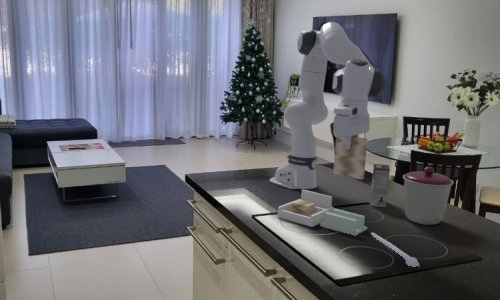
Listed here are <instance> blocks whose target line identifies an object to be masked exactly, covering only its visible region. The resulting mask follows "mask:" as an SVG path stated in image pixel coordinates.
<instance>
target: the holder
mask: <svg viewBox="0 0 500 300" xmlns="http://www.w3.org/2000/svg"><path fill="white" fill-rule="evenodd" d="M365 220H366V215H363V214H358V213H354V212H351V211H347V210H343V209H339V208H334V209H332V213H330V212H326V213H324V222H322V223H320V224H319V226H320V227H322V228H325V229H329V230H332V231H335V232H339V231H340V233H342V232H343V234H346V233H347V235H349V234H351V235H350V236H353V235H354V237H356V235H357V236H359V235H360V234H362V233H364V232H366V231H367V230H368V226H365ZM365 230H366V231H365ZM363 231H364V232H363ZM361 232H362V233H361ZM359 233H360V234H359ZM358 234H359V235H358Z"/></svg>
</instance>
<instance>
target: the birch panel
mask: <svg viewBox="0 0 500 300" xmlns="http://www.w3.org/2000/svg"><path fill="white" fill-rule="evenodd" d="M351 143H352V148H350V149H347V148H345V144H346V143H345V140H344V138H339V137H335V147H334V158H333V159H334V160H333V161H334V162H333V170H332V171H333V173H332V174H334V175H338V176H343V177H347V178H352V179H357V180H361V181H362V180H364V179H365V170H366V159H367V149H368V148H367V147H368V138H364V137H360V136H359V137H353V136H352V139H351Z"/></svg>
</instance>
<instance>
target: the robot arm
mask: <svg viewBox="0 0 500 300" xmlns="http://www.w3.org/2000/svg"><path fill="white" fill-rule="evenodd" d="M296 44H297V50H298V52H299V54H302V55H303V59H302V62H301V63H302V64H301V68H300V75H299V79H298V80H299V81H298V88H299V90H300V92H301V95H302V100H301V101H298V102H294V103H292V104H290V105H287V107H286V108H285V109H284V113H283V117H284V120H285V122H286V124H287V125H288V126H289V128H290V132H291V140H292V143H291V154H289V155H286V156H285V157H286V159H288V160H287V162H285V163H284V164H282V165H281V166H279V167H278V168H277V169H276V171H275V173H274V176H273V177H271V178H270V179H269V182H270V183H272V184H275V185H278V186H281V187H283V188H287V189H289V190H297V189H298V190H311V189H315V188H317V187H318V183H317V177H316V167H317V156H316V155H317V142H318V141H317V138H316V136H314V132H313V128H312V127H313V126H315V125H319V124H320V123H323V122H325V120H327V118H328V116H329V109H328V107H327V105H326V103H325V98H324V97H325V96H324V87H325V81H326V74H327V70H328V69H327V67H328V61H329V62H331V63H333V64H337V65H344V67H343V68H341V69H338V70H336V71H335V73H333V74H332V83H331V84H332V85H331V89H332V90H333V92H334V93H335V94H336V95H338V96H341V100H340V101H341V102H339V104H337V105H336V106H334V108H333V114H335V115H334V118H333V129H332V130H333V136H334V137H335V138H336V137H339V138H344V140H345V143H346V144H345V148H347V149H350V148H352V143H351V139H352V136H353V137H359V138H360V135H362V134H366V133H369V130H370V119H371V118H370V113H369V110H368V105H369V104H368V103H369V98H370V99H371V98H372V99H376V98H378V97H380V96H381V94H383V92H384V91H385V89H386V87H387V86H386V83H387V82H386V78H385V75H384V74H383V72H382V71H381V70H380V69H378V68H377V67H376V66H375V64H374V63H373V61H372V60H371V59H370V57H369V56H368V55H367V53H366V52H365V50H363V49H362V48H360V47H359V46H357V45H356V44H355V43H354V42H352V40H350V39H349V37H348V34H347V33H346V31H345V30H344V28H343V27H342V25H340V23H338V22H334V21H330V22H326V23H325V24H323V25H322V26H321V28H320V30H314V29H306V30H302V32H300V33H299V36H298V37H297V41H296Z"/></svg>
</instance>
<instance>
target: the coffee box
mask: <svg viewBox="0 0 500 300" xmlns="http://www.w3.org/2000/svg"><path fill="white" fill-rule="evenodd" d="M372 170H373V171H372V180H371V188H370V189H371V190H370V206H371V207H379V208H380V207H381V208H386V206H387V199H388V198H387V197H388V188H389V182H390V181H389V179H390V170H391V169H390V165H389V164H379V163H373V167H372Z"/></svg>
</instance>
